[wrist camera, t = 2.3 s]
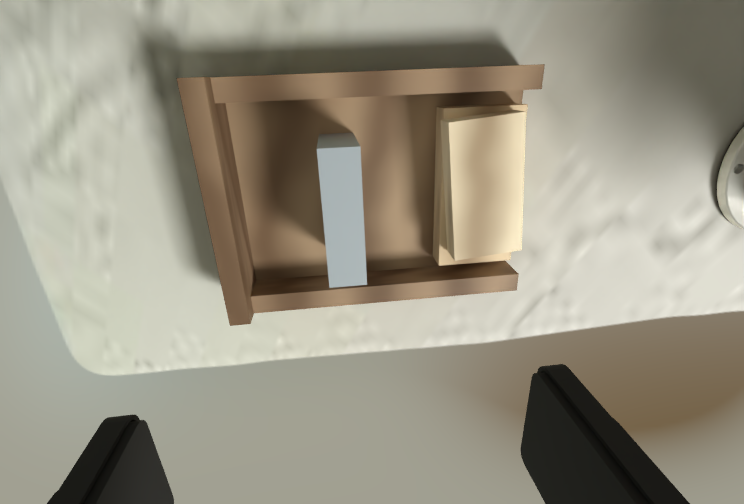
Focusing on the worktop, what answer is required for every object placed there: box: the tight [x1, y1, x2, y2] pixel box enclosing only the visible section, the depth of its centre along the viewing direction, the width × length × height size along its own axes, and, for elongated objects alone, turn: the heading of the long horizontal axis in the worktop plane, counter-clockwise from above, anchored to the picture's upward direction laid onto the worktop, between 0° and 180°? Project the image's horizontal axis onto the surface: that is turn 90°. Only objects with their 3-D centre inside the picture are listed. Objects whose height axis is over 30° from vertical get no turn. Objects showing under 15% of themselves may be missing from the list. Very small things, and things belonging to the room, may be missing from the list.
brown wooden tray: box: [177, 64, 545, 326], centre depth 29 cm, size 23×17×5 cm
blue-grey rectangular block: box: [317, 133, 367, 288], centre depth 27 cm, size 2×9×7 cm, turn 2°
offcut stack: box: [433, 103, 528, 266], centre depth 30 cm, size 6×12×4 cm, turn 2°
